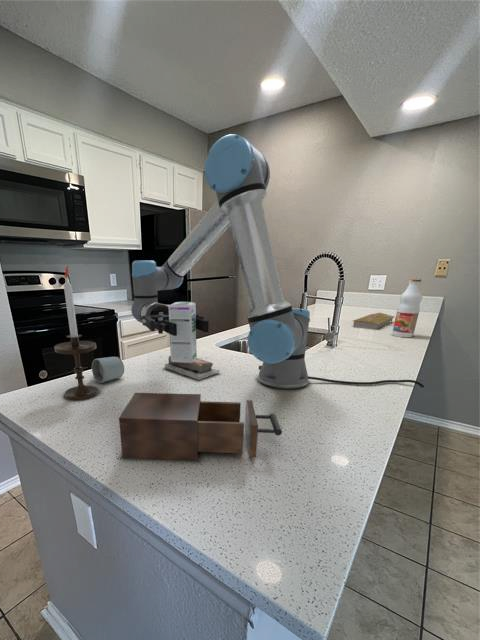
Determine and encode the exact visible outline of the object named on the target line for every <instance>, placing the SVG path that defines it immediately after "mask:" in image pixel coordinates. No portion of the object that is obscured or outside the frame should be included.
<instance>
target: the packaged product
mask: <svg viewBox="0 0 480 640" xmlns="http://www.w3.org/2000/svg"><path fill="white" fill-rule="evenodd" d="M167 362H168V363H165V364H164V368H165V369H167V370H170V371H172V372H175V373H177V374H179V375H182V376H183V375H184V376H187V377H189V378H193V379H195V380H198V381H199V380H203V379H205V378H207V377H210V376H214V375H217V374H219V373H220V370H219V369H216V368H213V366H214V363H213V362H212V361H208V360H204V359H202V358H198V357H196V358H195V359H194V361H193V362H192V363H180V362H171V355H169V356H168V361H167Z"/></svg>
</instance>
